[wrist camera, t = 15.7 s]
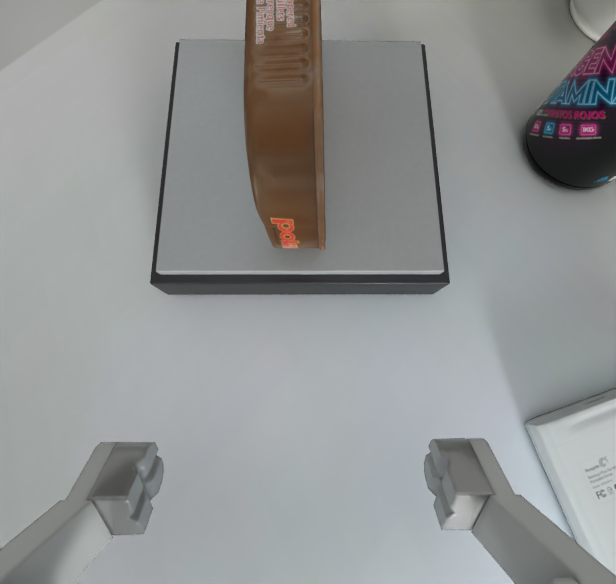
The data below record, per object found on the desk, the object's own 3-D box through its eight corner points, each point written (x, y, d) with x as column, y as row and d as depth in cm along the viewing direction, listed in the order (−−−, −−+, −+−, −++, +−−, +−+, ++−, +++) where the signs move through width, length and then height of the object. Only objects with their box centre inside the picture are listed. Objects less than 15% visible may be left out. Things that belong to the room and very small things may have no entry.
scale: (167, 294, 21) (144, 280, 18) (188, 69, 25) (172, 26, 22) (433, 294, 21) (455, 280, 18) (412, 70, 25) (427, 28, 22)
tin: (326, 273, 18) (345, 187, 10) (265, 273, 18) (232, 186, 10) (322, 40, 21) (333, -168, 13) (271, 40, 21) (251, -169, 13)
